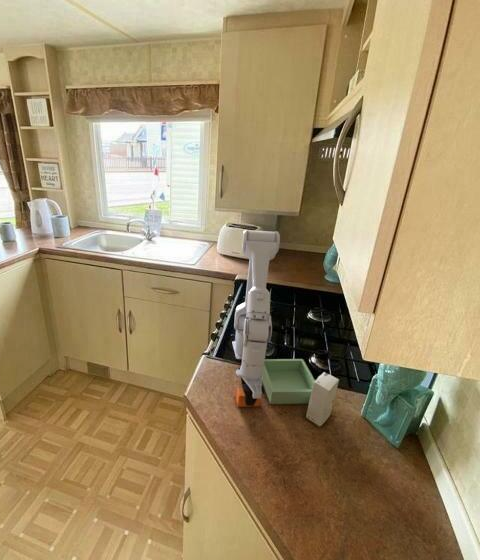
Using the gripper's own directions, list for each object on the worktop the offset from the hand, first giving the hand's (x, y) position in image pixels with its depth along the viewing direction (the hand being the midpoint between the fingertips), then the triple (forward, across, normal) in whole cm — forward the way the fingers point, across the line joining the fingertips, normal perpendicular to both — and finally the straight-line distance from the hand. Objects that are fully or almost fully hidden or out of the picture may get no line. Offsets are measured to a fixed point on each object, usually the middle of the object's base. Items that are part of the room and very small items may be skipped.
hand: (248, 398), depth 87 cm
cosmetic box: (+2, +5, +18) cm, 19 cm away
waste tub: (+2, -6, +13) cm, 14 cm away
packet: (+2, 0, 0) cm, 2 cm away
